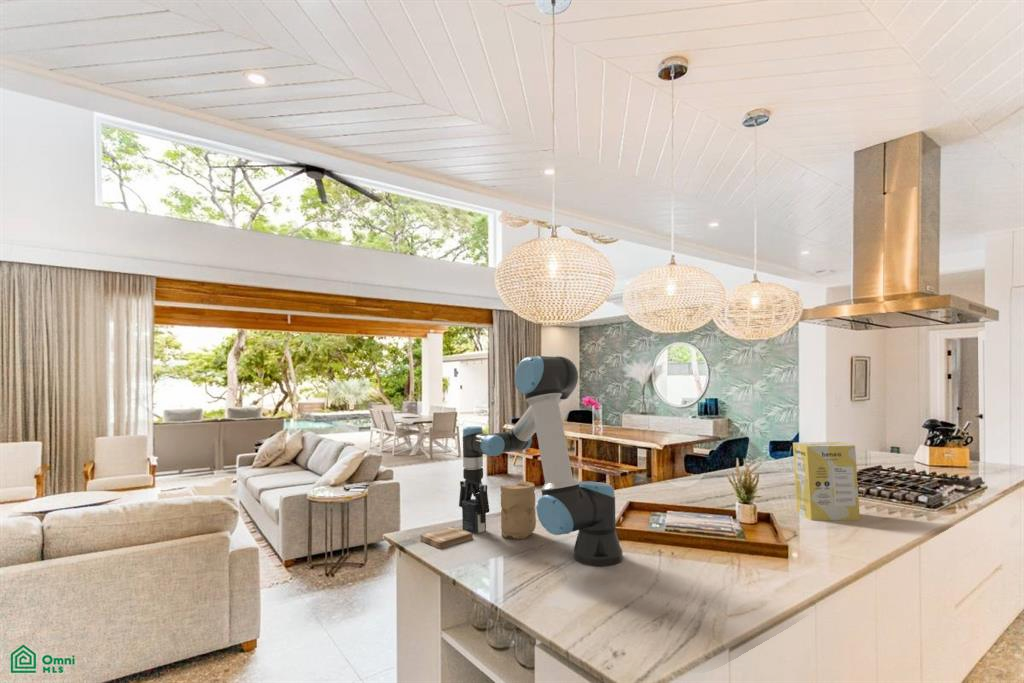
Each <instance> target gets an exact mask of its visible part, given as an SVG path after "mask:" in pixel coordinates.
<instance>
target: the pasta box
mask: <svg viewBox="0 0 1024 683" xmlns="http://www.w3.org/2000/svg"><path fill="white" fill-rule="evenodd" d="M792 450H793V452H792V453H793V465H794V466H793V467H794V468H793V470H794V471H793V472H794V483H795V484H794V485H795V500H796V501H795V502H796V513H797V514H799V515H800V516H802V517H804V518H806V519H808V520H810V521H838V520H839V521H850V520H851V521H855V520H857V521H860V520H861V518H860V517H861V514H860V502H859V501H860V499H859V483H858V472H857V471H858V470H857V469H858V468H857V456H856V445H854V444H849V443H845V442H841V441H823V442H821V441H818V442H817V441H814V442H813V441H812V442H792Z"/></svg>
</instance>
